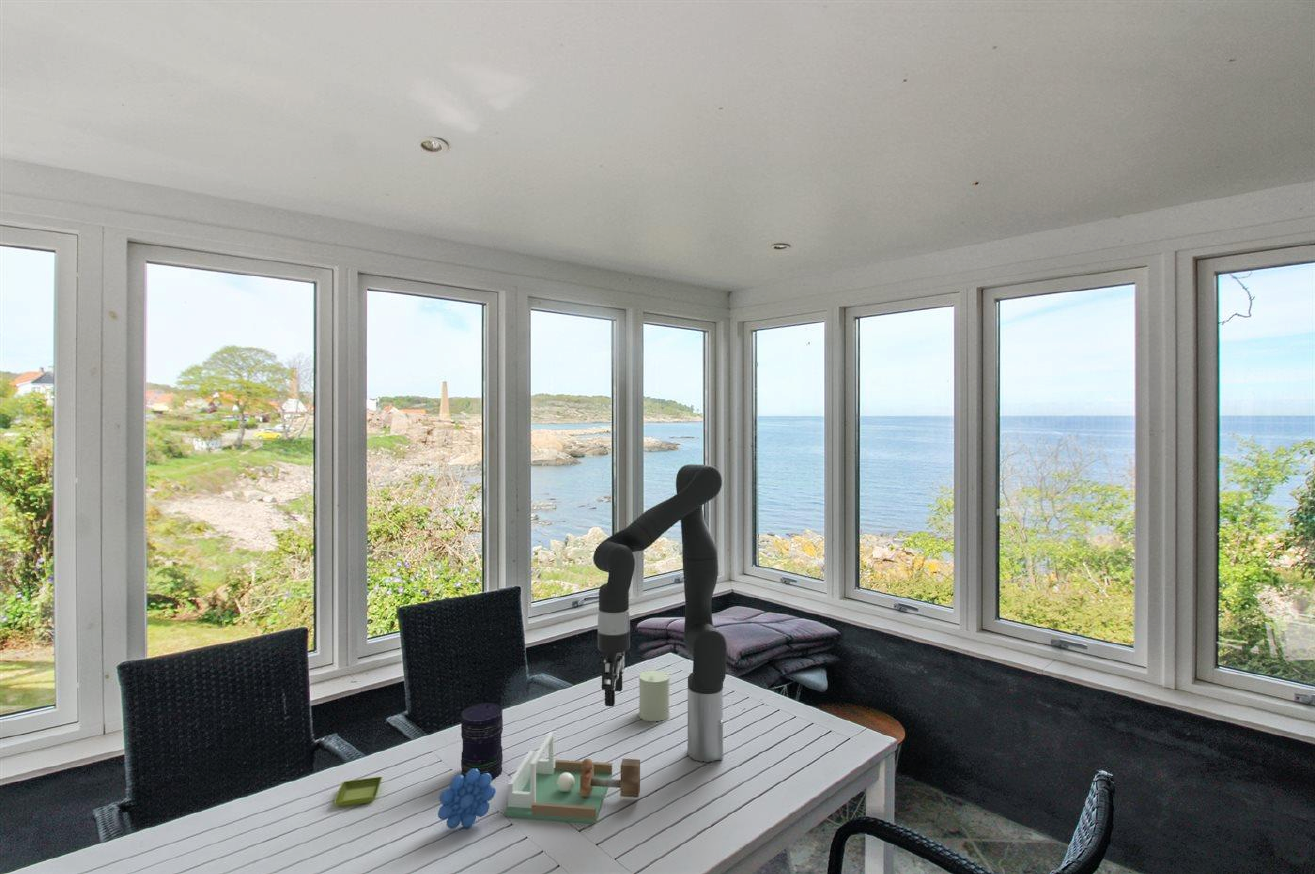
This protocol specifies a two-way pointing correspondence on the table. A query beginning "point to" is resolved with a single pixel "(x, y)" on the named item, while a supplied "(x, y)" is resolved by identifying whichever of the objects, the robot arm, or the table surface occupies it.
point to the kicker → (627, 783)
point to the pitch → (554, 789)
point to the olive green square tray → (358, 791)
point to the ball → (565, 782)
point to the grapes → (466, 798)
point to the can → (654, 695)
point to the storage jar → (482, 739)
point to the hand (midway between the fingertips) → (613, 697)
